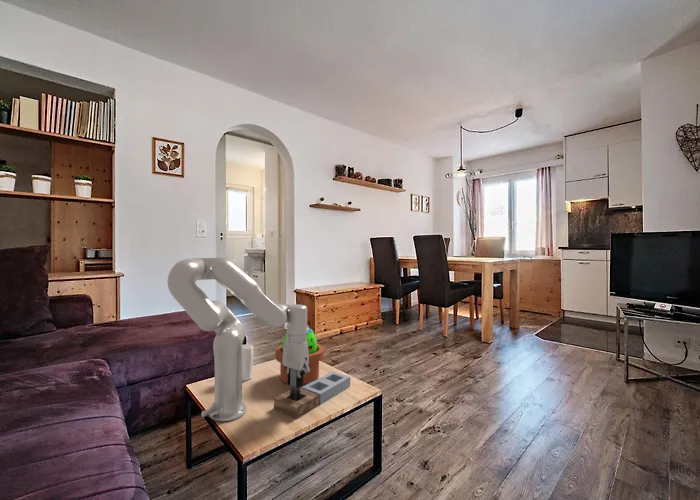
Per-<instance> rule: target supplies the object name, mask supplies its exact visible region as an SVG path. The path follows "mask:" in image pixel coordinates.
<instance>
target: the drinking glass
mask: <svg viewBox="0 0 700 500" xmlns="http://www.w3.org/2000/svg"><path fill="white" fill-rule="evenodd" d="M253 359H254V345H252V344H250V343H247V344H242V382H245V381H249V380H251V379H252V375H253V374H252V372H253V362H254V361H253Z"/></svg>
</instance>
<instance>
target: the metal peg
mask: <svg viewBox="0 0 700 500" xmlns="http://www.w3.org/2000/svg"><path fill="white" fill-rule="evenodd" d="M300 372H301V370H300ZM297 377H298V374H297V370H294V369H291V368H290V384H289V390H290V399H292V400H294V401H298V400H299V399H300V388H301V389H302V386H301V387H299V388H296V378H297Z"/></svg>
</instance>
